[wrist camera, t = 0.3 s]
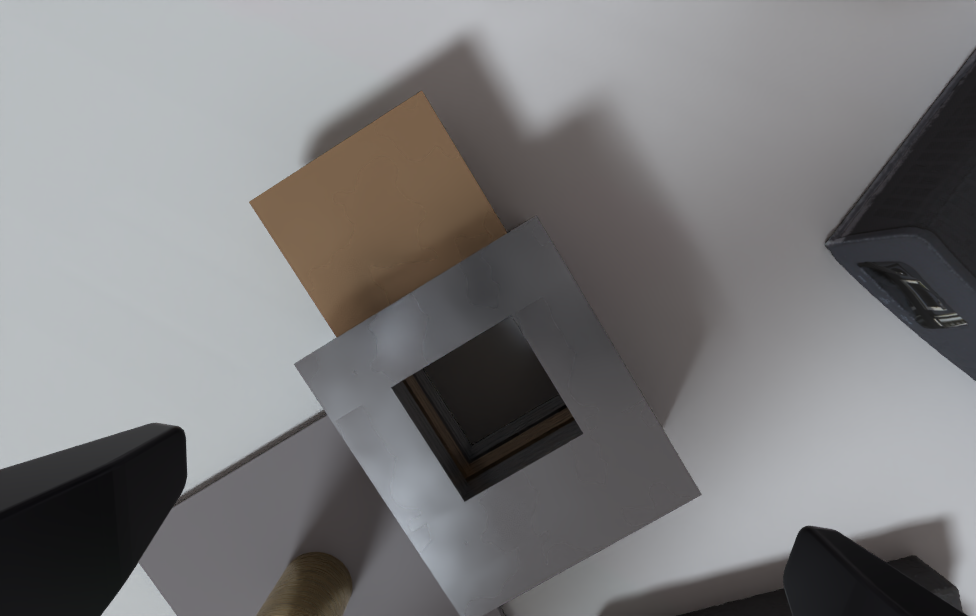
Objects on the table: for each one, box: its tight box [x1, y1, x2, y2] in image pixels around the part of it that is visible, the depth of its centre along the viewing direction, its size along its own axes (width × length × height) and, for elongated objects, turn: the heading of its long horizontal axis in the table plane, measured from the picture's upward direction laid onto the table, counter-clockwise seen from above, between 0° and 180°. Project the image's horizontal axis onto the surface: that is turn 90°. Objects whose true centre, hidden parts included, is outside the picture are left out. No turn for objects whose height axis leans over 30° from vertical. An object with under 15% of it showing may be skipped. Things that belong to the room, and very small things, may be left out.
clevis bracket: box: [249, 91, 701, 616], centre depth 20 cm, size 16×9×5 cm, turn 31°
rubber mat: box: [139, 415, 505, 616], centre depth 24 cm, size 12×12×1 cm
